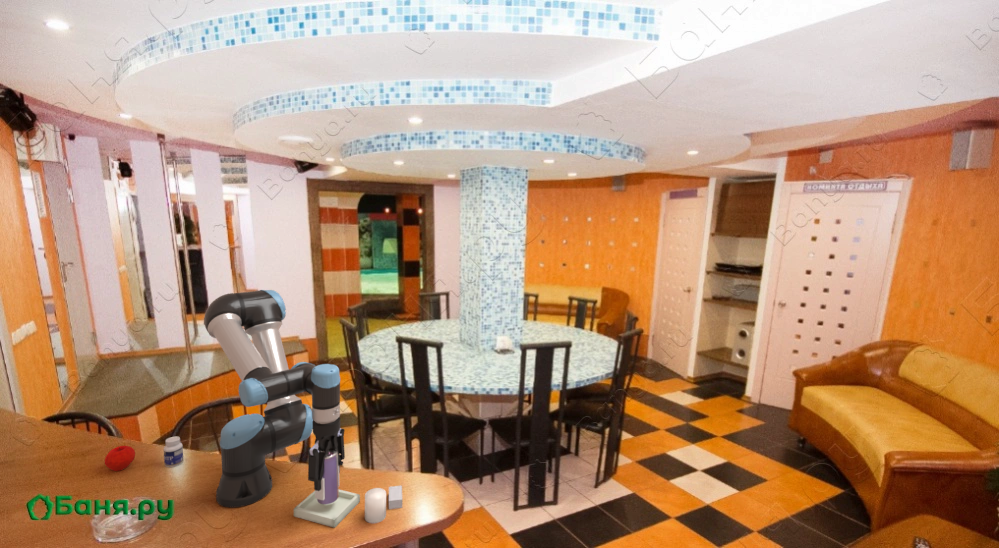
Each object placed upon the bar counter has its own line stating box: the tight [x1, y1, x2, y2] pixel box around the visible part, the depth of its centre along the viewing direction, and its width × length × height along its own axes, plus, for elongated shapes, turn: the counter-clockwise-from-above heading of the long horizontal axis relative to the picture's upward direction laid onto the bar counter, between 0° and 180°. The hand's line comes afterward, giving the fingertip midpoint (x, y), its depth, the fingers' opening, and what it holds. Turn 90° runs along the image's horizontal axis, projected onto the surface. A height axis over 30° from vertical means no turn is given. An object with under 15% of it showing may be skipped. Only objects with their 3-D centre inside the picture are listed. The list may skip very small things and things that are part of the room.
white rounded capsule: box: [364, 487, 387, 524], centre depth 128 cm, size 6×6×7 cm
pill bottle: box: [163, 435, 184, 468], centre depth 150 cm, size 5×5×9 cm
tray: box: [293, 489, 361, 529], centre depth 131 cm, size 14×12×2 cm
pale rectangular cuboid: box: [388, 485, 403, 510], centre depth 136 cm, size 7×4×3 cm, turn 14°
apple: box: [104, 445, 136, 472], centre depth 146 cm, size 8×8×7 cm
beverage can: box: [317, 449, 340, 505], centre depth 130 cm, size 6×6×15 cm
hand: (327, 491), depth 130 cm, fingers closed on beverage can, 6 cm apart
